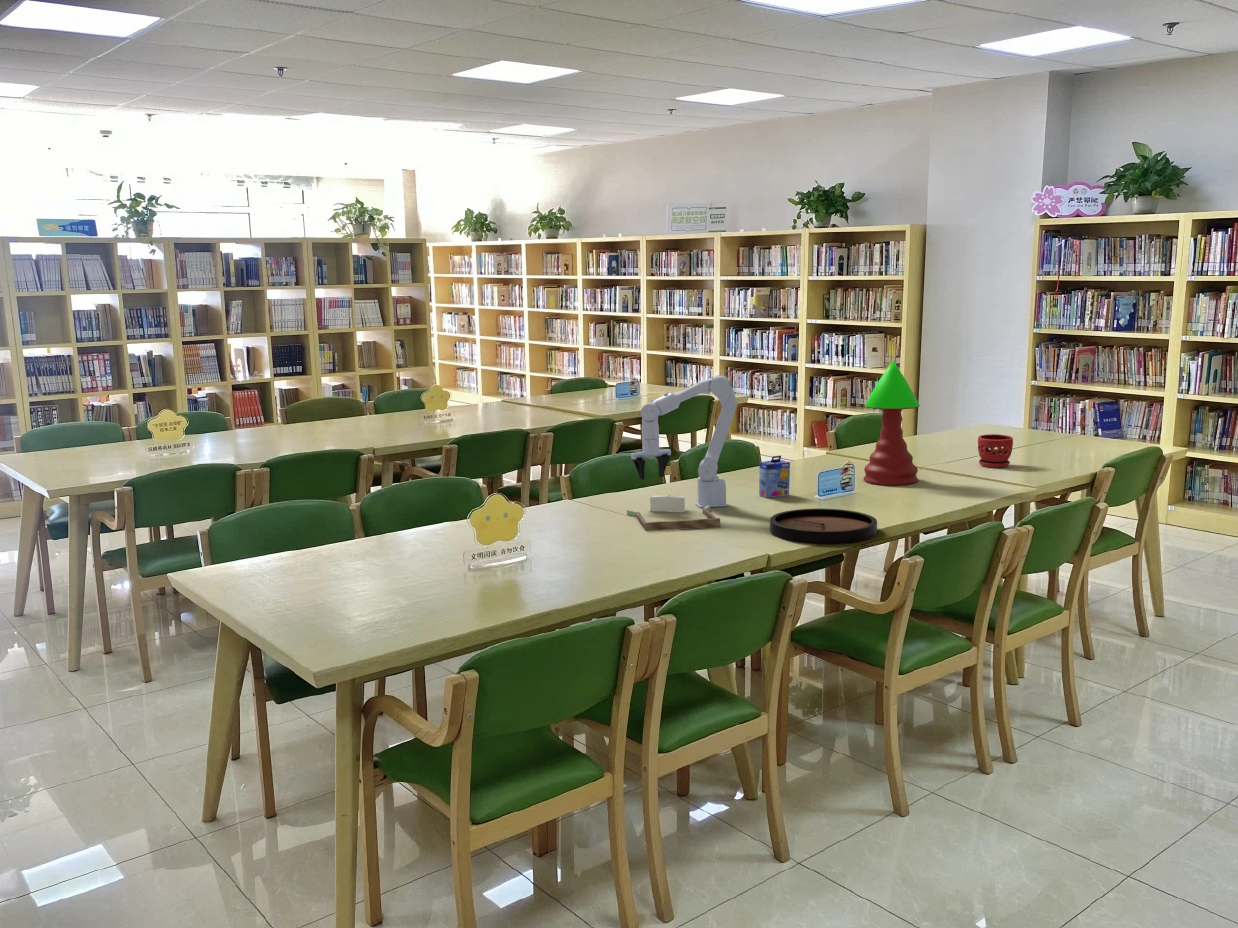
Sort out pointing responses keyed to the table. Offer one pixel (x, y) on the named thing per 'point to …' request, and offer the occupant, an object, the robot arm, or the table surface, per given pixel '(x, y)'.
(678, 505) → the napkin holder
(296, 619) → the table surface
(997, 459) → the plant pot
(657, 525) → the napkin dock
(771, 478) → the ink cartridge box
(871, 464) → the table lamp
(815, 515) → the wall clock
